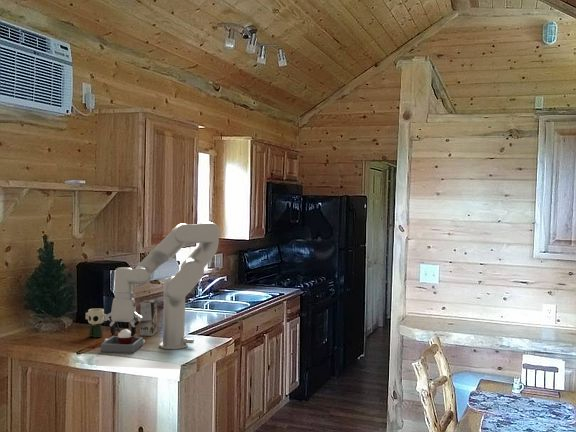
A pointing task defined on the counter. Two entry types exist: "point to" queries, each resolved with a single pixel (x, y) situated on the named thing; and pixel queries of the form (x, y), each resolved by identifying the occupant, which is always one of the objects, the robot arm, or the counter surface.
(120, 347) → the tray
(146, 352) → the counter surface
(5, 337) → the counter surface
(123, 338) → the cocoa
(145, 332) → the coffee box
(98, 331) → the big headed toy figurine
